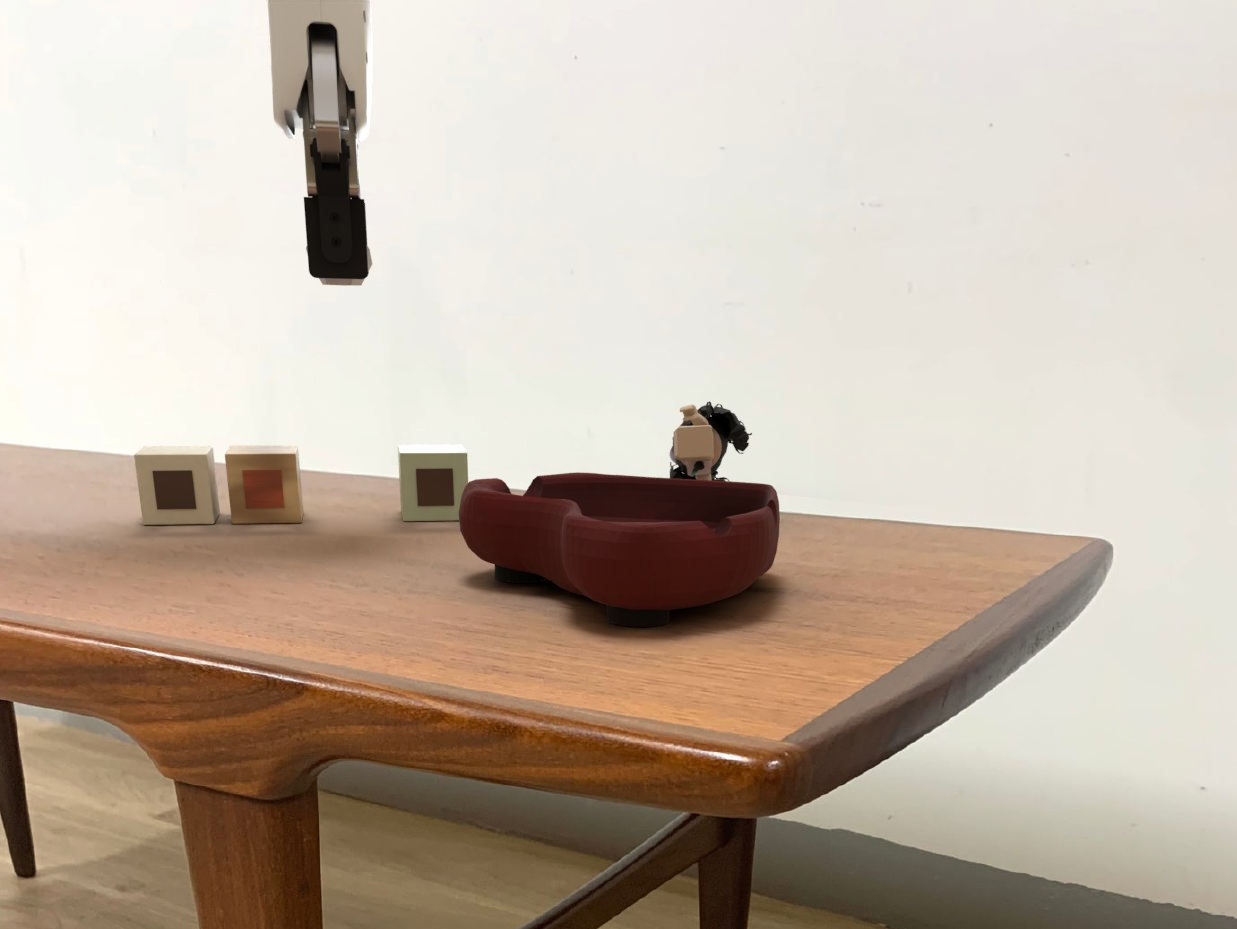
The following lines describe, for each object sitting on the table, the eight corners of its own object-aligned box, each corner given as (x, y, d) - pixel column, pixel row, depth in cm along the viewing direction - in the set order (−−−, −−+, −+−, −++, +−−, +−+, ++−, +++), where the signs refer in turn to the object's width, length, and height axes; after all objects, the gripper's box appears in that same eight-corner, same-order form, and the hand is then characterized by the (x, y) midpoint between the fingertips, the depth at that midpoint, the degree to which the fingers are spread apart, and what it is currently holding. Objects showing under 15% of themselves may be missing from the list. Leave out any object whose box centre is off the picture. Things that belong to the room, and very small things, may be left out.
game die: (302, 284, 77) (298, 227, 76) (367, 286, 78) (363, 230, 77) (313, 283, 74) (309, 223, 73) (380, 285, 75) (377, 226, 74)
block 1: (142, 525, 85) (133, 454, 84) (152, 514, 89) (143, 446, 88) (214, 524, 86) (206, 454, 85) (220, 513, 90) (213, 445, 89)
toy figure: (664, 522, 91) (672, 491, 105) (756, 517, 91) (752, 487, 104) (658, 412, 88) (667, 395, 102) (753, 406, 88) (749, 390, 102)
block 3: (403, 521, 89) (399, 453, 87) (401, 510, 93) (397, 445, 91) (469, 520, 89) (467, 452, 88) (464, 509, 93) (462, 444, 92)
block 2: (231, 524, 87) (224, 454, 85) (237, 513, 91) (230, 445, 89) (301, 523, 87) (295, 453, 86) (303, 512, 91) (297, 445, 90)
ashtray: (879, 603, 69) (888, 504, 67) (615, 644, 60) (616, 531, 58) (677, 546, 82) (679, 462, 80) (437, 573, 73) (433, 479, 71)
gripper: (254, -79, 75) (282, 276, 83) (223, -165, 60) (260, 277, 68) (389, -69, 77) (404, 279, 84) (391, -151, 62) (409, 281, 69)
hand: (340, 274), depth 76 cm, fingers closed on game die, 3 cm apart
